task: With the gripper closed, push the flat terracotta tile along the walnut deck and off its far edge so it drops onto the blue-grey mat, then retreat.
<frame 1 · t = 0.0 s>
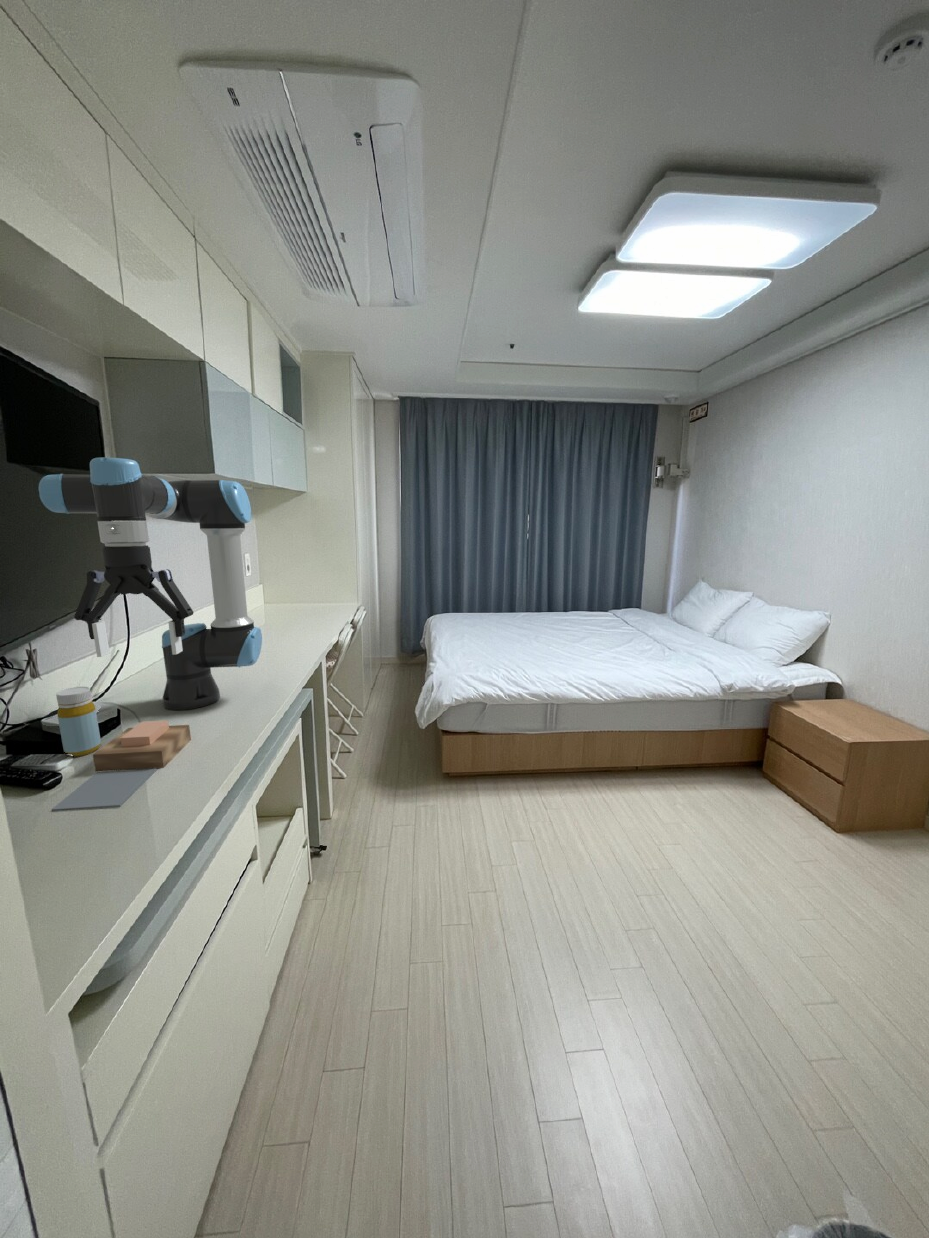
hand: (140, 654, 95), 28 cm above the table, fingers open, 13 cm apart
bottle: (83, 751, 115), on the table
deck: (146, 754, 113), on the table
tile: (146, 736, 114), point 4 cm above the table, touching deck
mat: (108, 789, 99), on the table
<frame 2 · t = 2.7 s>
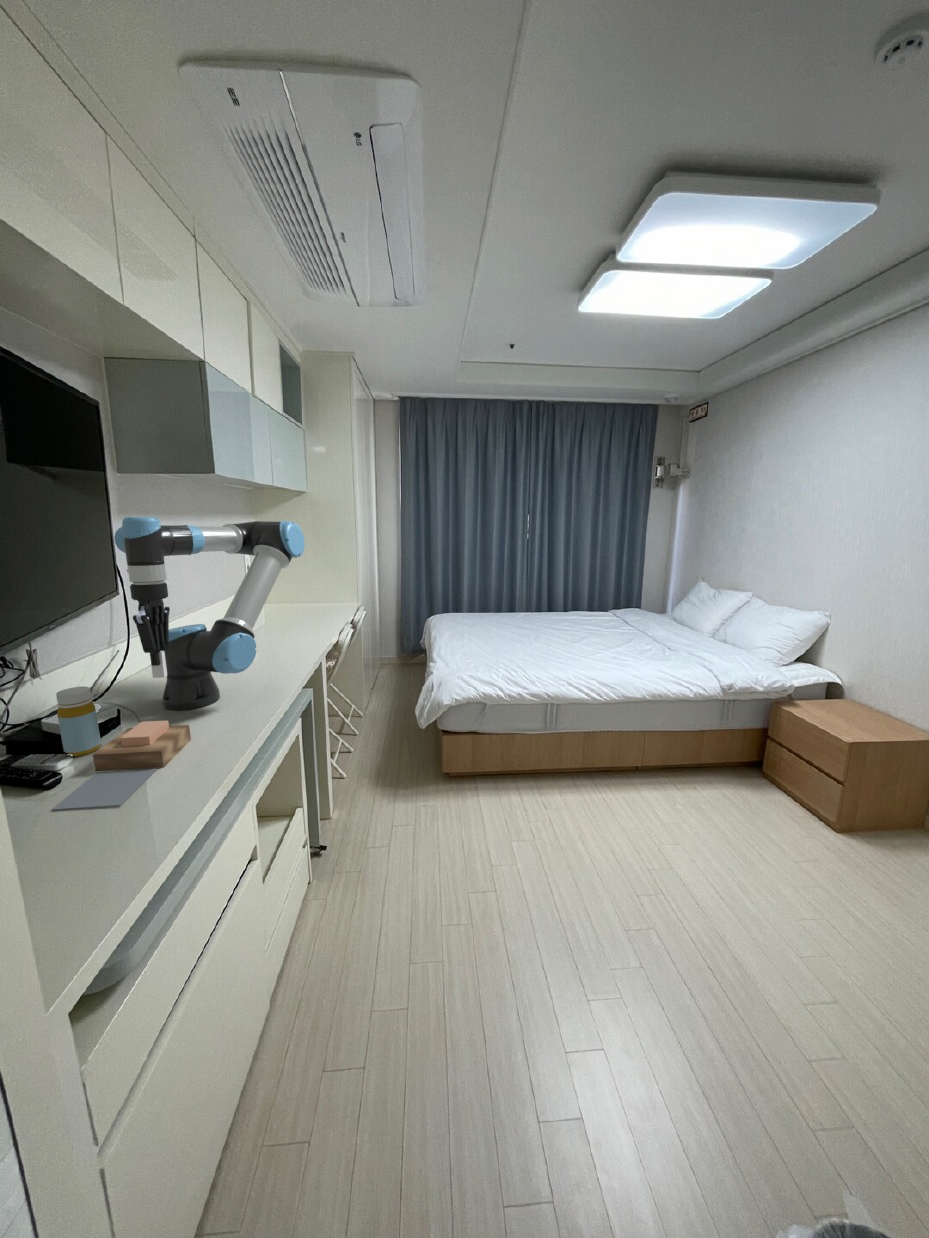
hand: (160, 676, 121), 16 cm above the table, fingers closed
nothing on the table moved.
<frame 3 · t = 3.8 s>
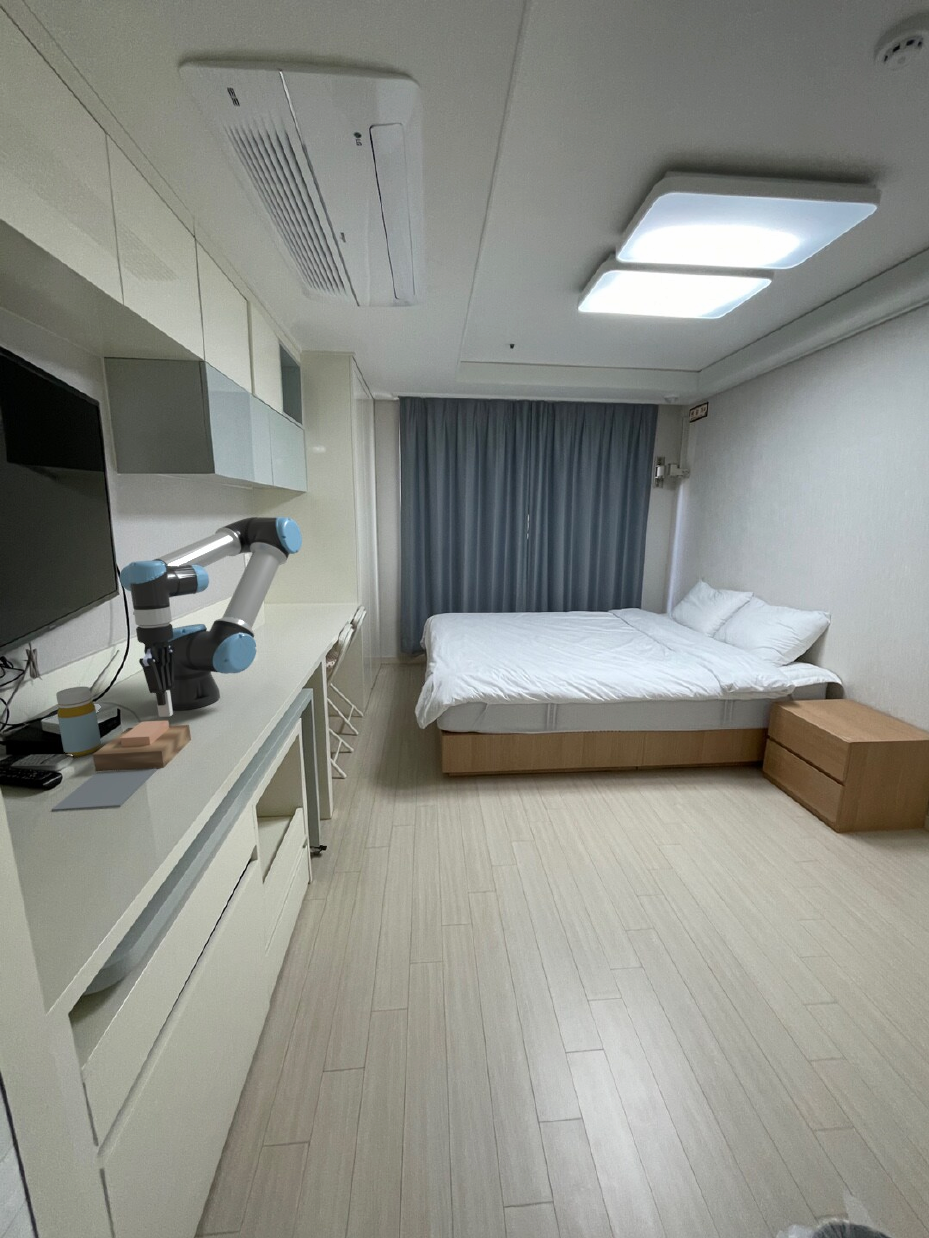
hand: (165, 715, 123), 5 cm above the table, fingers closed
nothing on the table moved.
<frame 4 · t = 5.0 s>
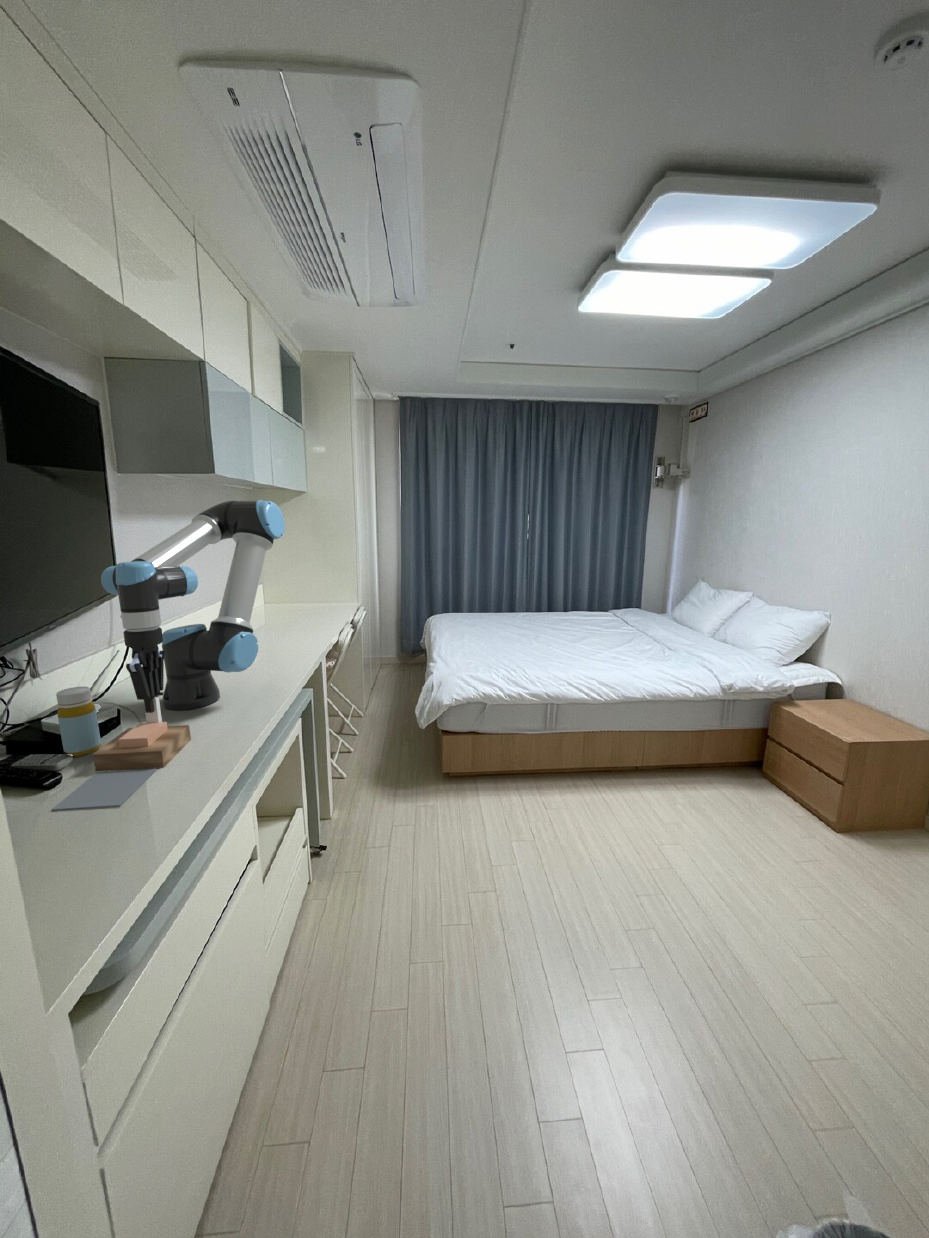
hand: (154, 723, 118), 5 cm above the table, fingers closed
tile: (144, 738, 113), point 4 cm above the table, touching deck, gripper
everything else where it was.
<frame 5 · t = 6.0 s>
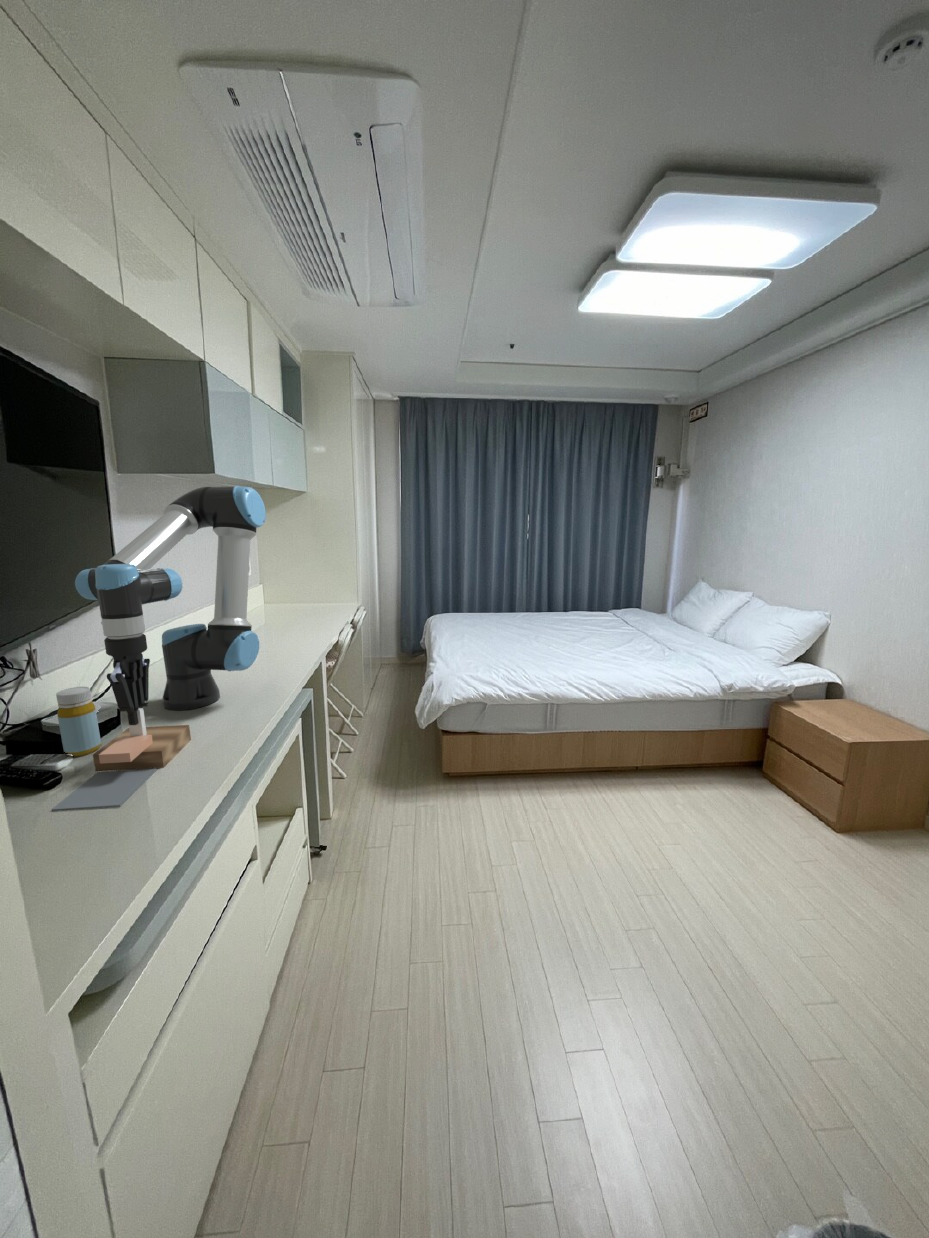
hand: (138, 735, 111), 6 cm above the table, fingers closed
tile: (127, 752, 106), point 4 cm above the table, touching deck, gripper
everything else where it was.
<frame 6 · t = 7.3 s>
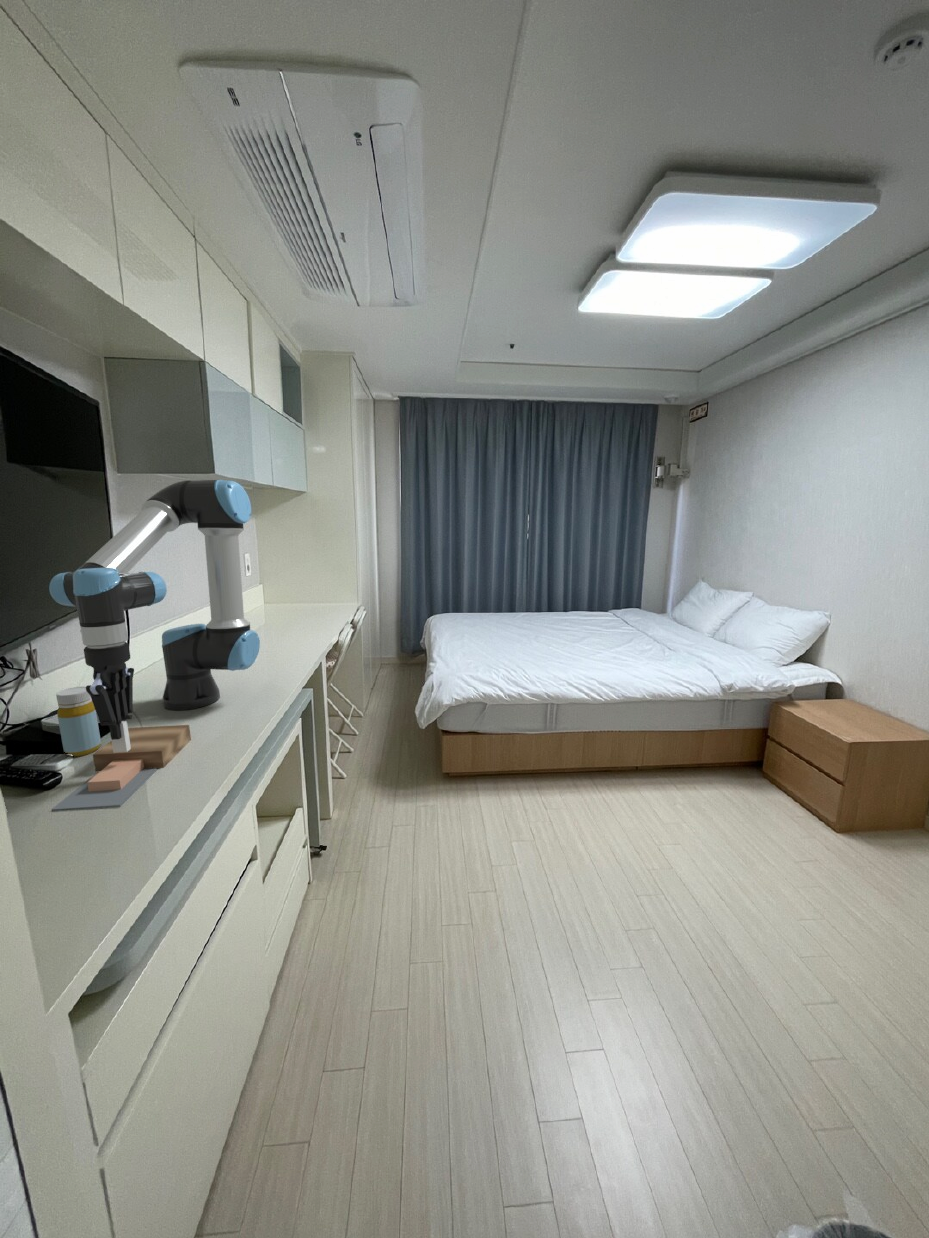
hand: (122, 750, 104), 5 cm above the table, fingers closed
tile: (117, 778, 102), resting on mat
everything else where it was.
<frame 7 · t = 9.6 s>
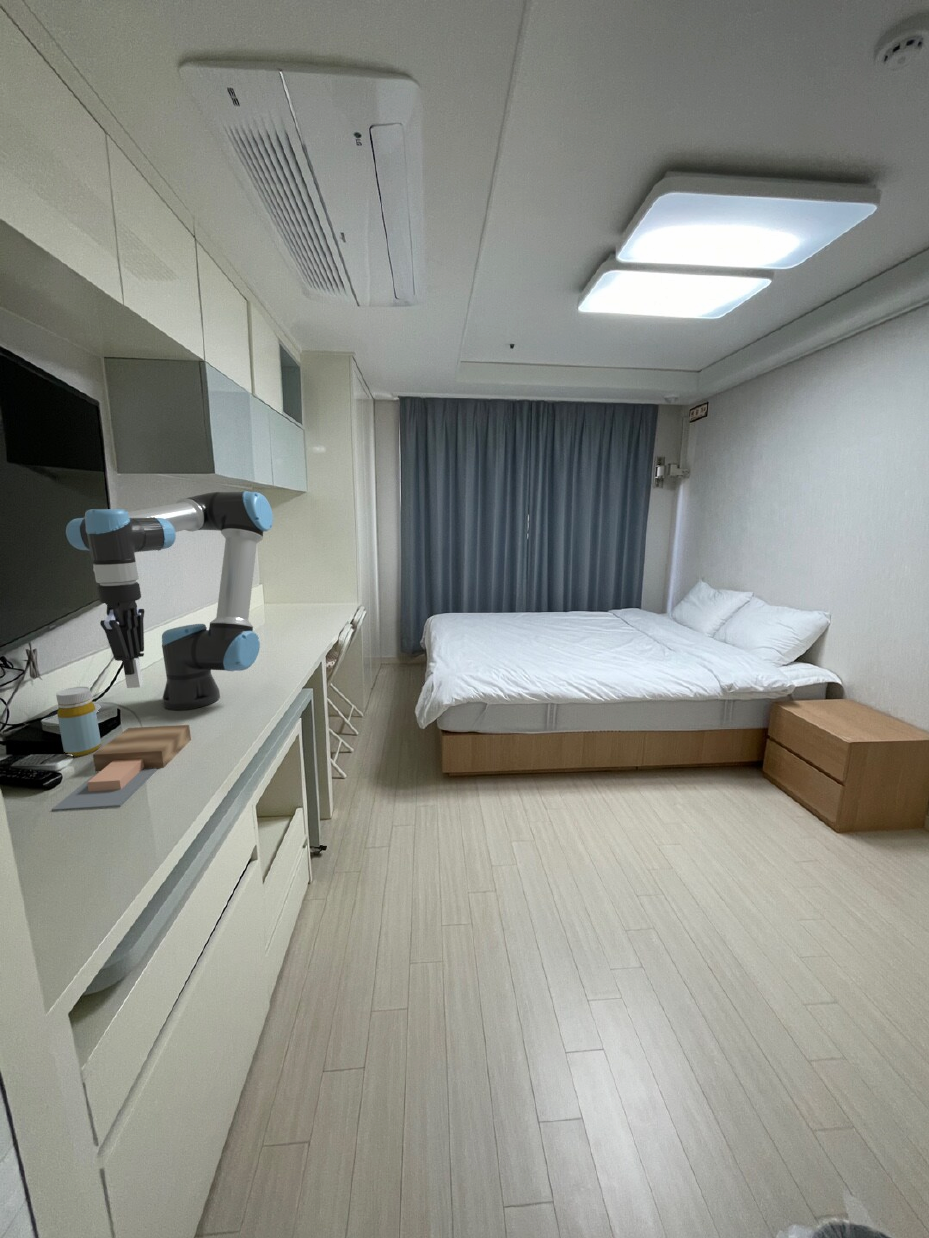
hand: (135, 686, 109), 17 cm above the table, fingers closed
nothing on the table moved.
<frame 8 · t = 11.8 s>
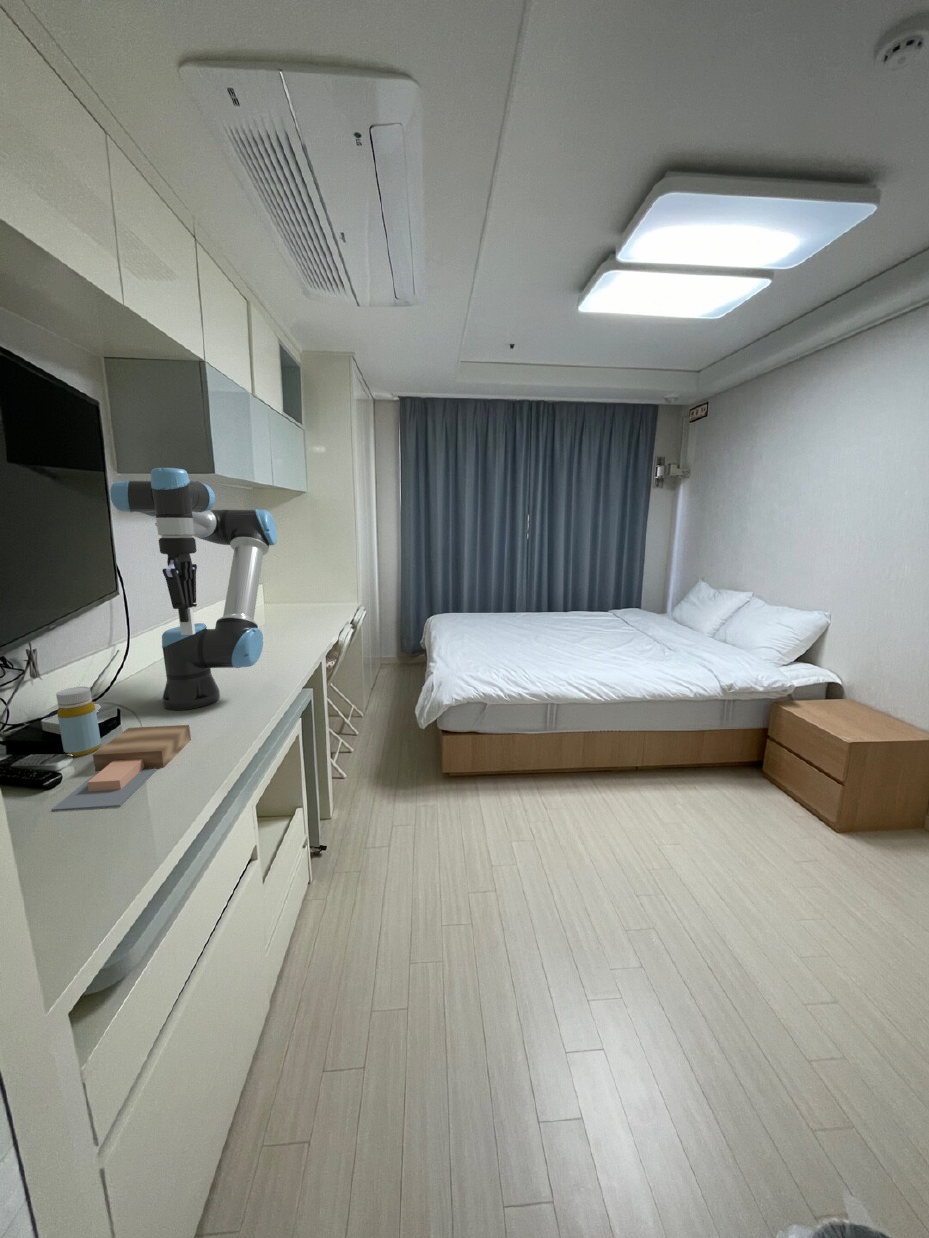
hand: (188, 634, 119), 26 cm above the table, fingers closed
nothing on the table moved.
at the end: tile resting on mat; tile inside the target area on the mat (3.4 cm from its centre), point 0.4 cm above the mat's base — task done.
